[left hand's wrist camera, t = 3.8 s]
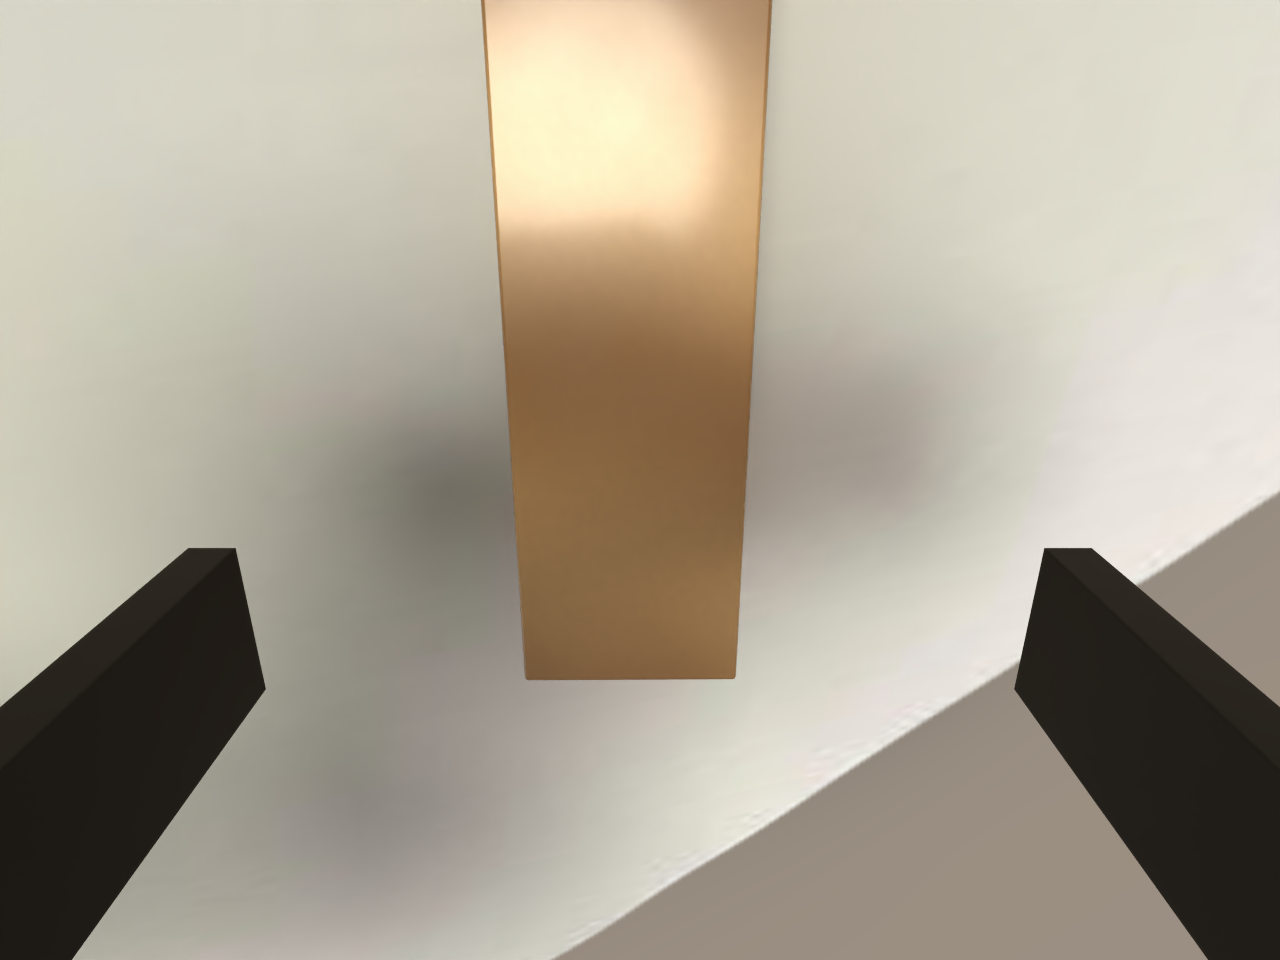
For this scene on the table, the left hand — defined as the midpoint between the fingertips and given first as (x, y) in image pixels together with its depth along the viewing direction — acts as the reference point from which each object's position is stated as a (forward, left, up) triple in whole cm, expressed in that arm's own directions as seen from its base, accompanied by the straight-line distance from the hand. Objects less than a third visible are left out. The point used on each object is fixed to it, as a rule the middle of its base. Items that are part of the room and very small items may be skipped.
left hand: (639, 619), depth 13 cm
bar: (+24, +27, -14) cm, 39 cm away
